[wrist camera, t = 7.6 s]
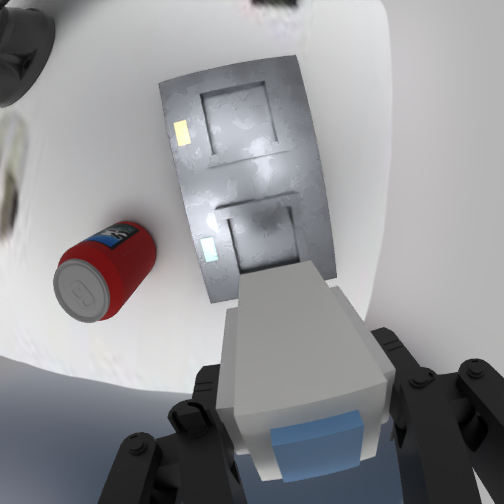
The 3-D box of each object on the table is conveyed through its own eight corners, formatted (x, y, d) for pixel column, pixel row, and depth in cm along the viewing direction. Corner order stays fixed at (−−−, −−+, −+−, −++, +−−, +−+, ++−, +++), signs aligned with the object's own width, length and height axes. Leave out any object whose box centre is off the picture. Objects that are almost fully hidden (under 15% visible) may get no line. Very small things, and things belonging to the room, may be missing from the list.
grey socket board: (162, 86, 26) (152, 78, 22) (293, 59, 25) (299, 48, 22) (212, 297, 33) (209, 312, 29) (333, 272, 32) (342, 284, 29)
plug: (239, 274, 16) (233, 432, 6) (310, 260, 16) (395, 396, 6) (254, 334, 17) (263, 494, 7) (319, 321, 17) (379, 468, 7)
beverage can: (131, 207, 29) (74, 233, 18) (170, 254, 31) (133, 303, 20) (94, 244, 31) (35, 283, 19) (131, 287, 32) (86, 343, 21)
